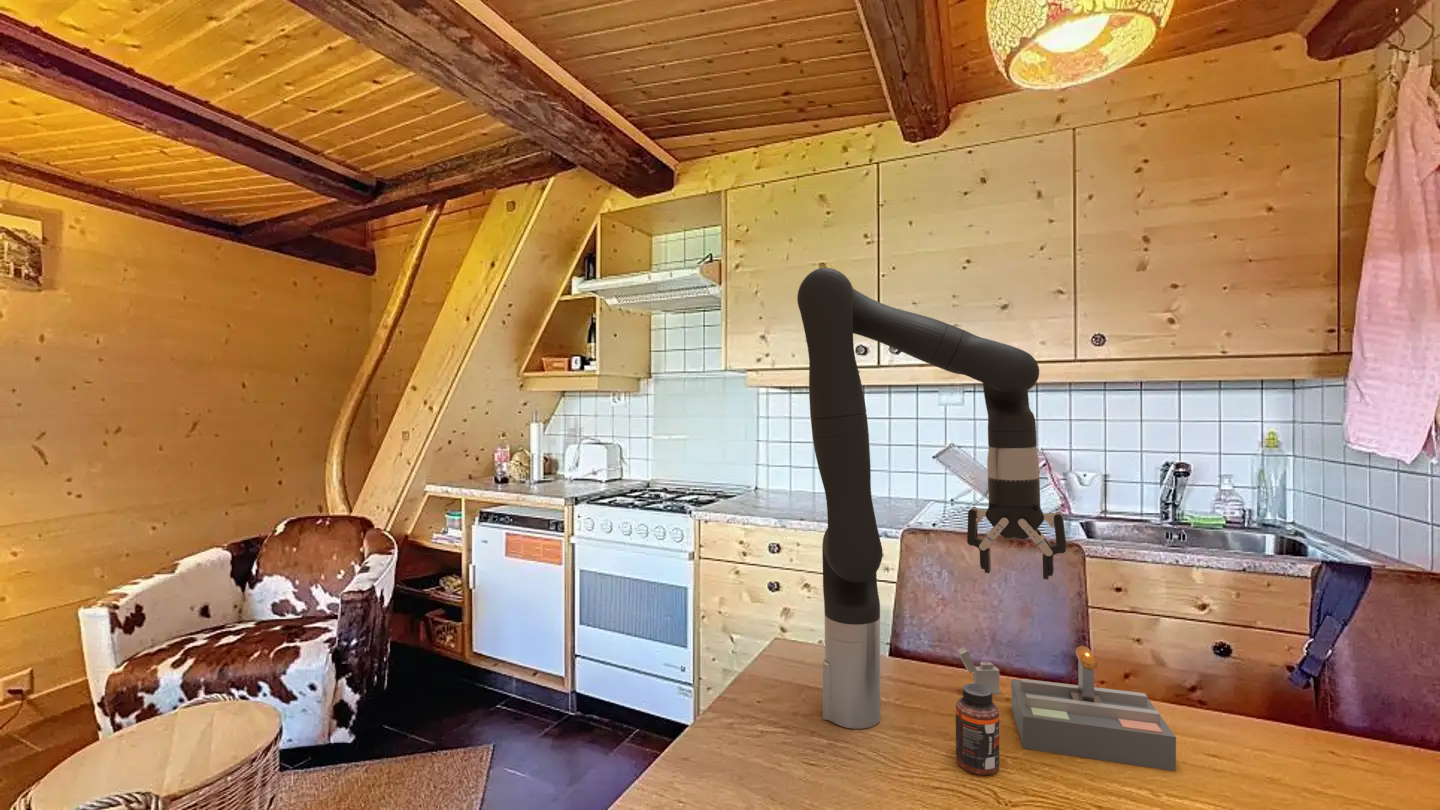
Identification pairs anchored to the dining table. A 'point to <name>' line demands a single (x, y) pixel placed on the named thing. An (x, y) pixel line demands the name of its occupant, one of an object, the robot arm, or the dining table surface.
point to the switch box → (1092, 724)
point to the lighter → (981, 672)
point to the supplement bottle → (977, 730)
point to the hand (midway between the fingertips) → (1016, 574)
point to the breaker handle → (1085, 677)
